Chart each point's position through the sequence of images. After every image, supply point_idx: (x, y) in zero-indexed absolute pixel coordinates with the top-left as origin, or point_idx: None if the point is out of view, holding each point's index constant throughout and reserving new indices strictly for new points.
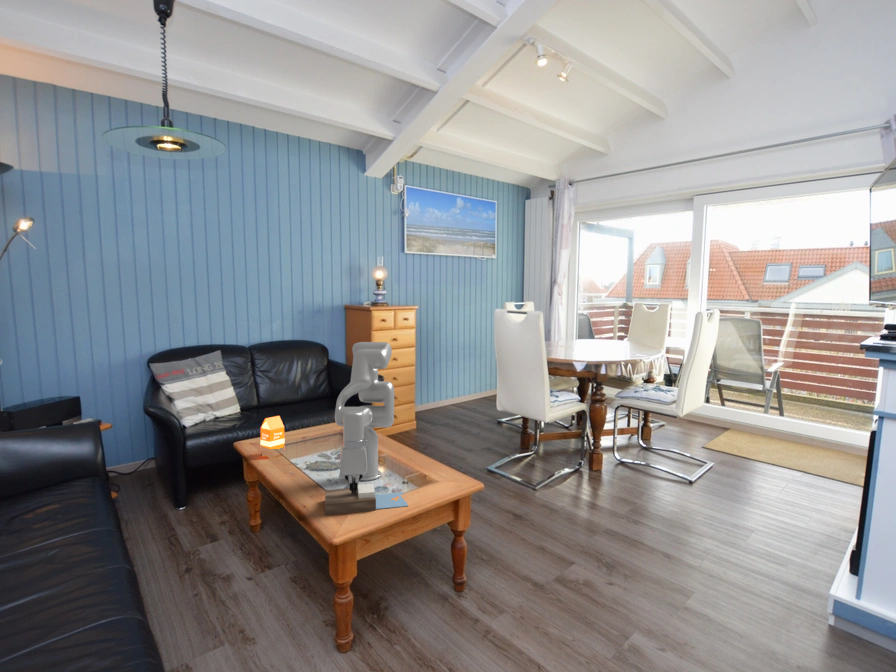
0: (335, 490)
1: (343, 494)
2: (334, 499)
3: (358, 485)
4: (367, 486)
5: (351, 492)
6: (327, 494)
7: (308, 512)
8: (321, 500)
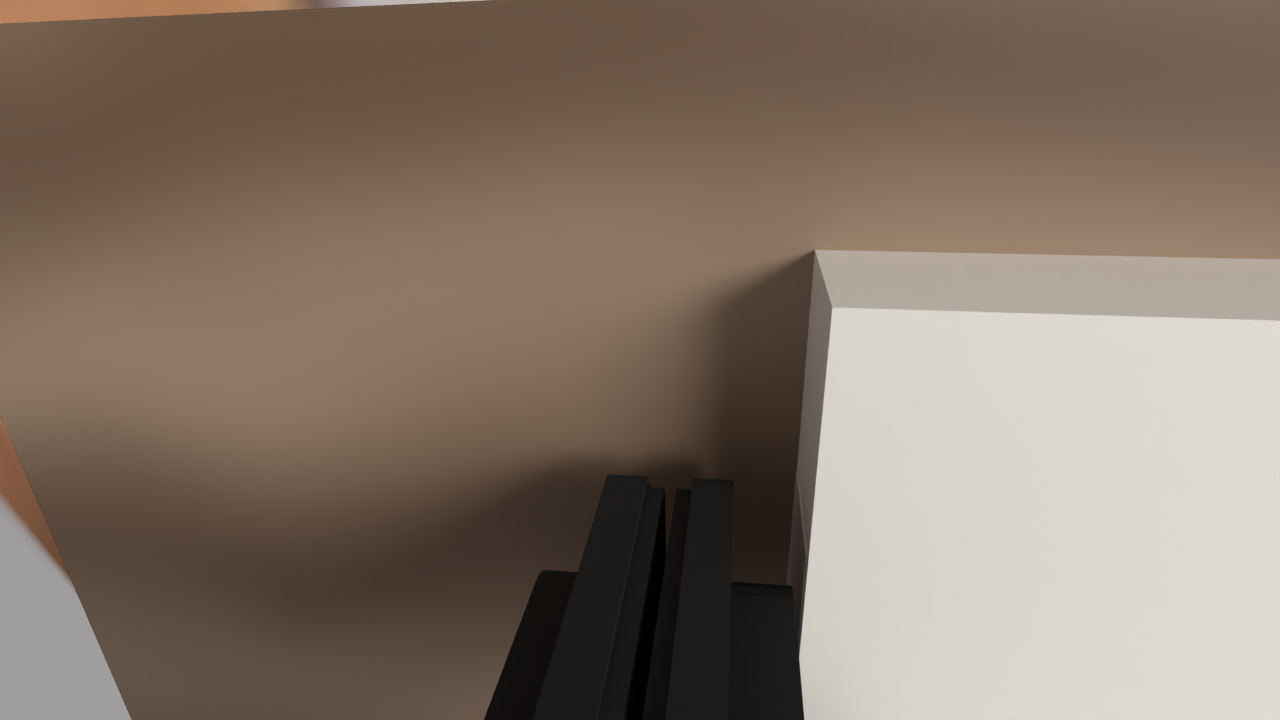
0: (144, 136)
1: (423, 476)
2: (277, 673)
3: (857, 385)
4: (1168, 556)
5: (621, 404)
6: (34, 380)
7: (11, 498)
8: (9, 8)
